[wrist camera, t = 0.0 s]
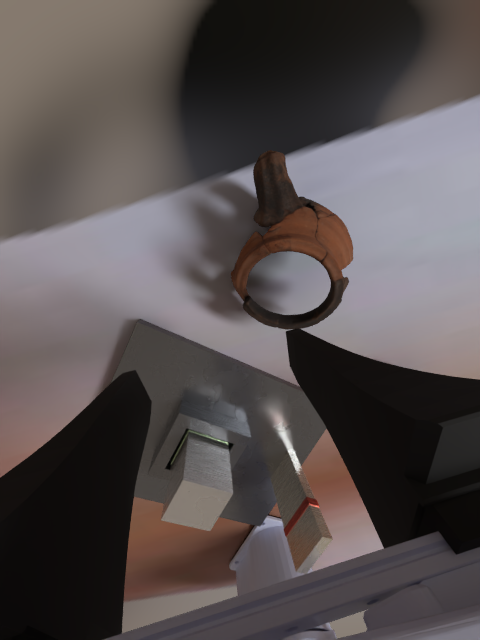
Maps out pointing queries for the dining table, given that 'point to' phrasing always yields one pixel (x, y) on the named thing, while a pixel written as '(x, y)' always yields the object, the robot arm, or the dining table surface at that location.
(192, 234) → the dining table surface
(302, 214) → the broken terracotta ring
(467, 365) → the dining table surface
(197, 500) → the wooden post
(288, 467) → the stand base
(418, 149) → the dining table surface
